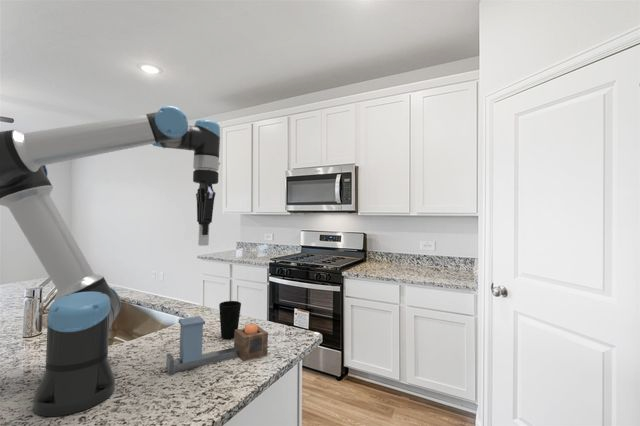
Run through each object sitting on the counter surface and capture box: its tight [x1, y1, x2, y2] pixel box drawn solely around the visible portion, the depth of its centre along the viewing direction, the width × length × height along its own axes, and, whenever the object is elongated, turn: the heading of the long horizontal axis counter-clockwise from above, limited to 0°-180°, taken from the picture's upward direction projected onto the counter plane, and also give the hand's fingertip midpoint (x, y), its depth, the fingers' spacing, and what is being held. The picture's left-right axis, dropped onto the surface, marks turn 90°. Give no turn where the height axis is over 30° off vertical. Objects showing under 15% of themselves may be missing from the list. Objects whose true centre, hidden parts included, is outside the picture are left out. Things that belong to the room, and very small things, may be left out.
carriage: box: [178, 315, 206, 363], centre depth 91 cm, size 6×6×11 cm
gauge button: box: [244, 323, 259, 335], centre depth 100 cm, size 4×4×4 cm
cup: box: [218, 300, 242, 341], centre depth 113 cm, size 8×8×12 cm
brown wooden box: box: [233, 325, 269, 362], centre depth 100 cm, size 8×8×7 cm
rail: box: [165, 346, 240, 376], centre depth 93 cm, size 21×5×4 cm, turn 126°
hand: (203, 245), depth 98 cm, fingers closed
